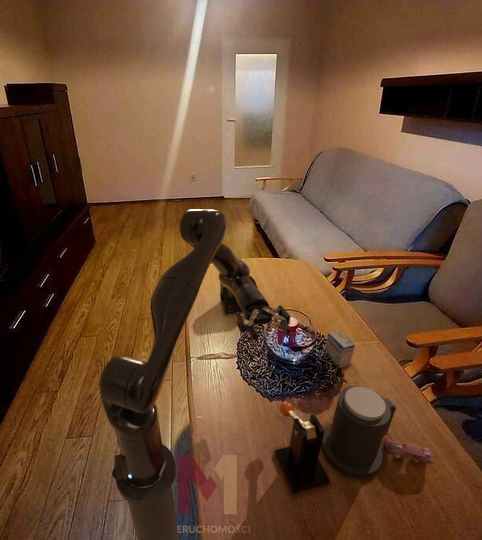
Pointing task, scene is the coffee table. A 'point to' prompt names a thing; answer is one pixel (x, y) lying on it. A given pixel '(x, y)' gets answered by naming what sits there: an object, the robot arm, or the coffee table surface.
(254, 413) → the coffee table surface
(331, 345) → the medicine box
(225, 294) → the camera
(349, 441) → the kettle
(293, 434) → the switch stand
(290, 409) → the orange knob lever
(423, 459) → the pink elongated piece
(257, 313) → the robot arm
